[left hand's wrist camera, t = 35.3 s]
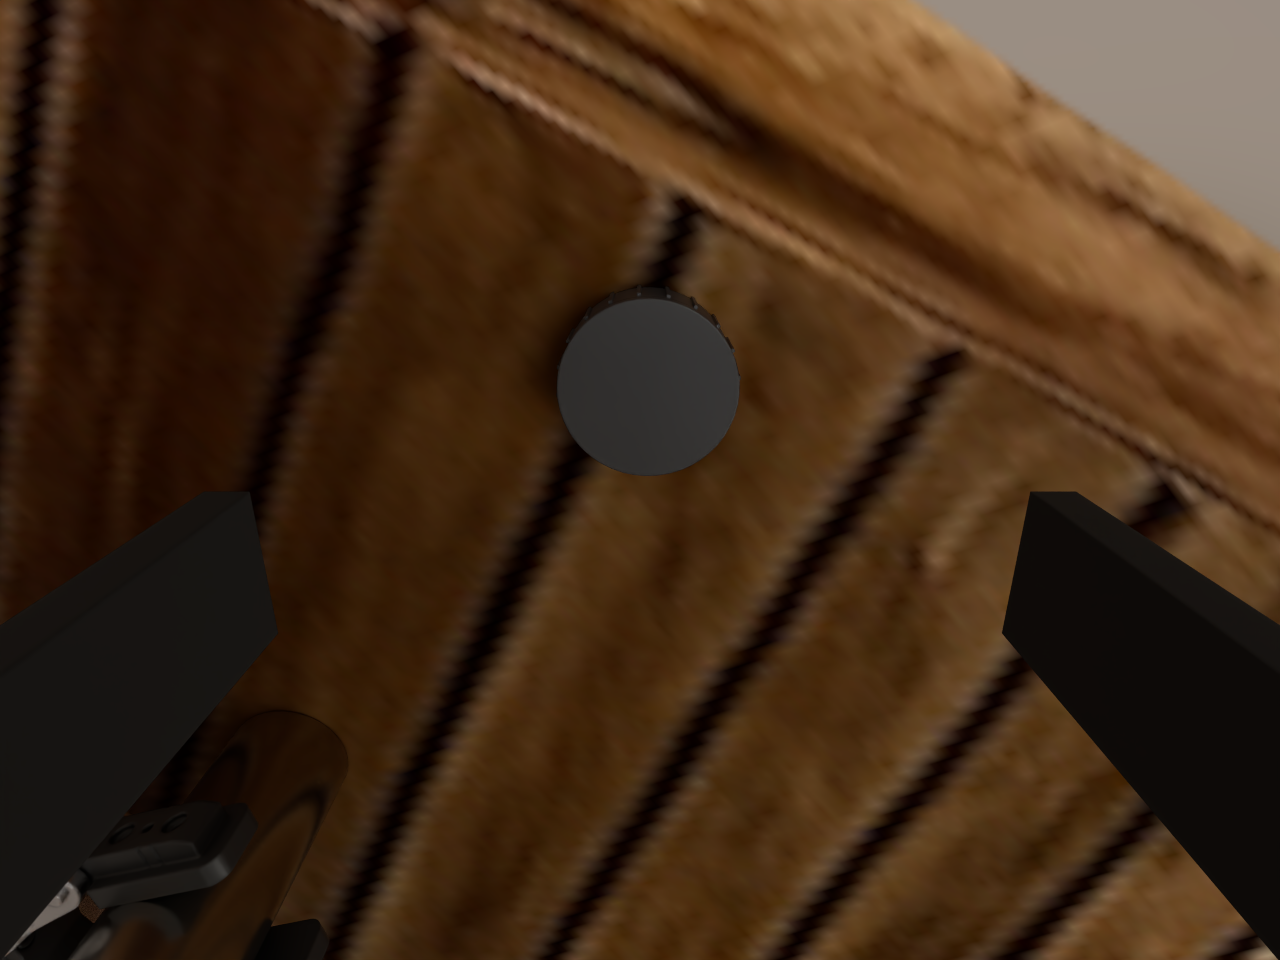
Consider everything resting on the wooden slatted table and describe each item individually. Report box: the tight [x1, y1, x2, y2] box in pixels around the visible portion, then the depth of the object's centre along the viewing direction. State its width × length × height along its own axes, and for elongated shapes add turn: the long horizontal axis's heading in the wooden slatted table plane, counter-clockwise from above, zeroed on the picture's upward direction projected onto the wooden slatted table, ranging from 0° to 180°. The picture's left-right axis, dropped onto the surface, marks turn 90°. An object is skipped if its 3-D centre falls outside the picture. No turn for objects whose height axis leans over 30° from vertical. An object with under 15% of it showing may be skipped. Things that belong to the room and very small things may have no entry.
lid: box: [556, 285, 740, 476], centre depth 21 cm, size 5×5×2 cm
